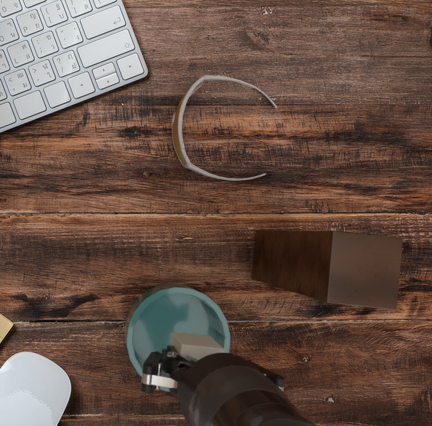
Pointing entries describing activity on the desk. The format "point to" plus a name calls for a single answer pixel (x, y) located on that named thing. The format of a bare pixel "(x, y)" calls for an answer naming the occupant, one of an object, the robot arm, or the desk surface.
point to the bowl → (171, 321)
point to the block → (195, 345)
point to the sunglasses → (179, 117)
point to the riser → (331, 266)
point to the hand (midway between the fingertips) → (191, 356)
